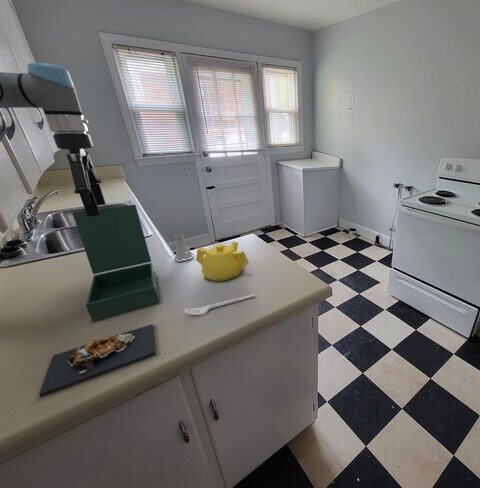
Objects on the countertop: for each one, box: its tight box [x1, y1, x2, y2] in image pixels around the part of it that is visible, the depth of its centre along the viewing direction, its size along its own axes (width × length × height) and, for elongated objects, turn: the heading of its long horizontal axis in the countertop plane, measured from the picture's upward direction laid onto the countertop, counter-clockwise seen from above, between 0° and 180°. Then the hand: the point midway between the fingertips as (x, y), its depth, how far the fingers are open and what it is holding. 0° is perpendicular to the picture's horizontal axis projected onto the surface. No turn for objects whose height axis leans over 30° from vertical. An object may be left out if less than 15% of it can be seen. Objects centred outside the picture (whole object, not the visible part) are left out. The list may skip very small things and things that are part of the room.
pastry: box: [68, 334, 135, 375], centre depth 63 cm, size 7×12×4 cm, turn 153°
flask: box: [174, 234, 195, 263], centre depth 109 cm, size 7×7×10 cm
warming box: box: [85, 262, 160, 322], centre depth 85 cm, size 19×16×6 cm
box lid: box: [71, 204, 152, 275], centre depth 89 cm, size 20×16×1 cm
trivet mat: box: [38, 323, 157, 397], centre depth 63 cm, size 20×12×1 cm, turn 123°
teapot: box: [195, 241, 249, 282], centre depth 99 cm, size 20×18×11 cm
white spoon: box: [183, 293, 256, 316], centre depth 81 cm, size 3×20×2 cm, turn 118°
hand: (97, 210), depth 80 cm, fingers open, 13 cm apart
